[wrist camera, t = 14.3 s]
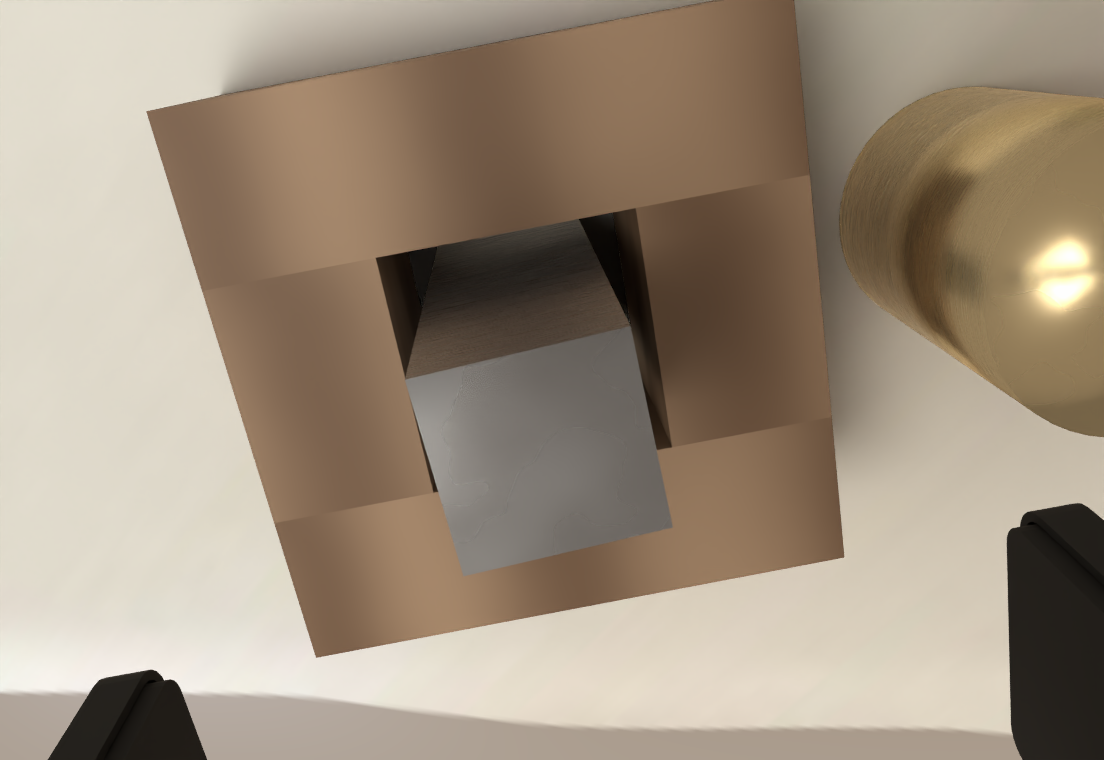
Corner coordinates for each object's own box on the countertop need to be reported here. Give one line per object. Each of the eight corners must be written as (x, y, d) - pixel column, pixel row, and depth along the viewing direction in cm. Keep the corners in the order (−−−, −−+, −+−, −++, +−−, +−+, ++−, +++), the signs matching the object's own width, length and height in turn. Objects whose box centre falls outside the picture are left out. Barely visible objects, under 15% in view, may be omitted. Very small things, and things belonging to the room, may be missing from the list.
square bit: (573, 209, 28) (630, 325, 17) (602, 339, 30) (672, 527, 18) (438, 242, 28) (404, 379, 17) (473, 370, 30) (463, 576, 18)
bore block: (728, -3, 27) (793, -13, 21) (780, 463, 31) (844, 557, 26) (219, 95, 27) (146, 111, 21) (347, 545, 31) (315, 657, 26)
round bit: (1071, 64, 28) (1328, 73, 19) (1075, 300, 30) (1306, 402, 22) (828, 113, 28) (976, 146, 19) (850, 345, 30) (991, 466, 22)
